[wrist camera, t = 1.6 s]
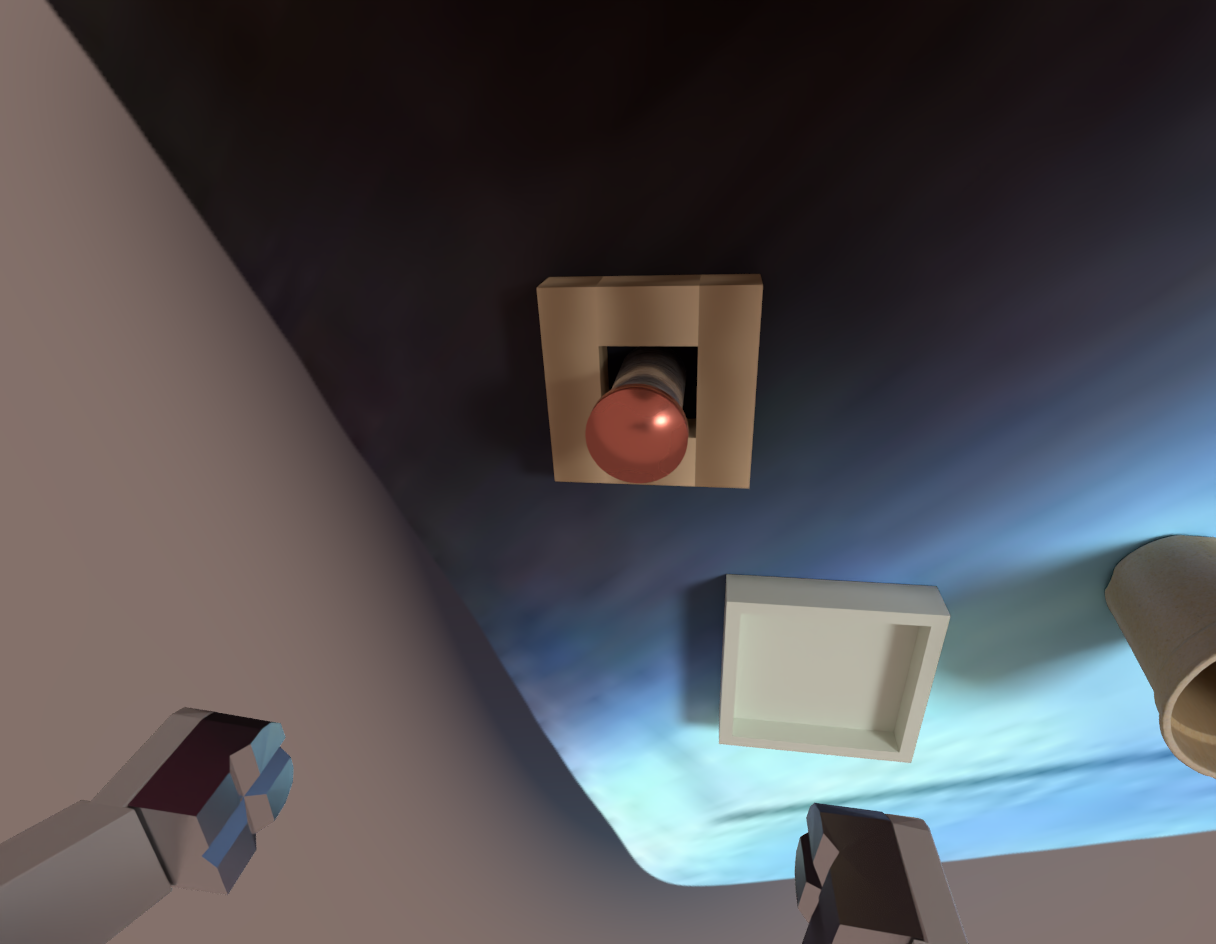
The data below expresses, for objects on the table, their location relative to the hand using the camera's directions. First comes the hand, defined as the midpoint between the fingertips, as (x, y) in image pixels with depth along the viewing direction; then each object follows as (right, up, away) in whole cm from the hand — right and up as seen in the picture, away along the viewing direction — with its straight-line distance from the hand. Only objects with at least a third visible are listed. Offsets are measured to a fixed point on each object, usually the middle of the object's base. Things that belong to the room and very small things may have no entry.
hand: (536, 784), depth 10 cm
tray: (+14, -7, +30) cm, 33 cm away
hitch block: (+3, +10, +23) cm, 25 cm away
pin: (+3, +10, +23) cm, 25 cm away
